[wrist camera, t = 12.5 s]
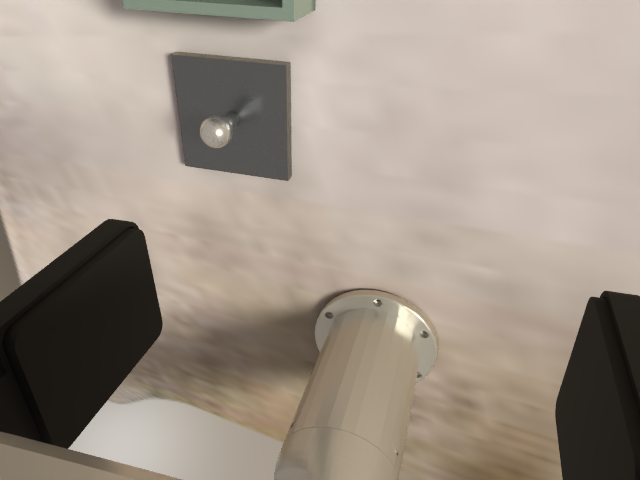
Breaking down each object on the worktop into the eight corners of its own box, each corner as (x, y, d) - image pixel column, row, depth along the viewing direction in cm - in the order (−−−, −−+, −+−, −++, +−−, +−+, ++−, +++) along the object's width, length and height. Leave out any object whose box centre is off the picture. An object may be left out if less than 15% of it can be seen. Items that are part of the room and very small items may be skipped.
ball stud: (291, 176, 48) (270, 202, 43) (190, 161, 50) (161, 185, 46) (290, 62, 42) (266, 79, 38) (177, 51, 44) (142, 67, 40)
